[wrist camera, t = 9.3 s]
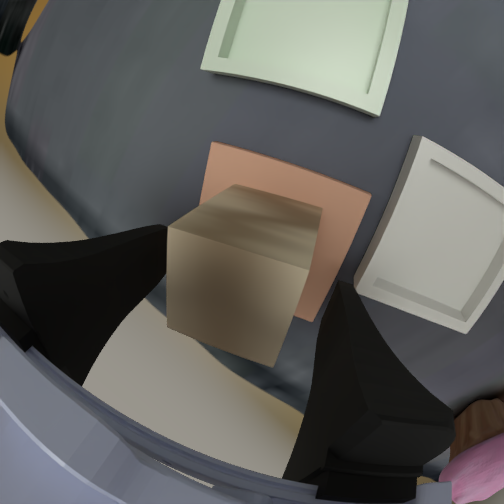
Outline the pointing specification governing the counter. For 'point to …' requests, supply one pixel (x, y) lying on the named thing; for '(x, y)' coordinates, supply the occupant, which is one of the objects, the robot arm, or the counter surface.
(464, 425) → the cupcake
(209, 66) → the sage green tray
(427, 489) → the robot arm
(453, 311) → the light grey tray
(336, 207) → the terracotta pad
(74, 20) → the counter surface
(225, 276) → the brown block
